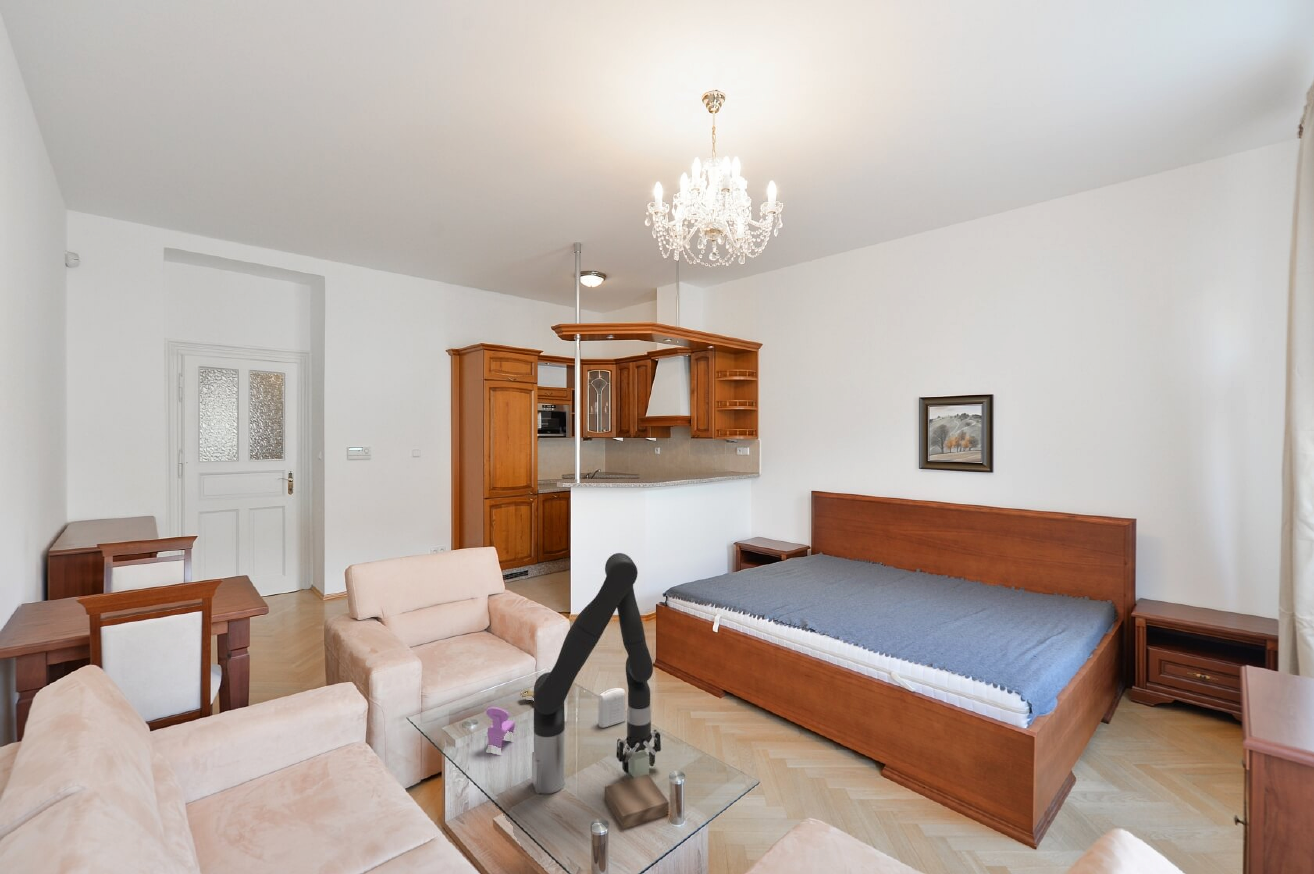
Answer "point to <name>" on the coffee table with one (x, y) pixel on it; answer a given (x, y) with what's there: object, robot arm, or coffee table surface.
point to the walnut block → (636, 801)
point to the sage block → (639, 764)
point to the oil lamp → (529, 693)
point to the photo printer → (611, 707)
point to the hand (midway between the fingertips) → (638, 768)
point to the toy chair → (498, 726)
